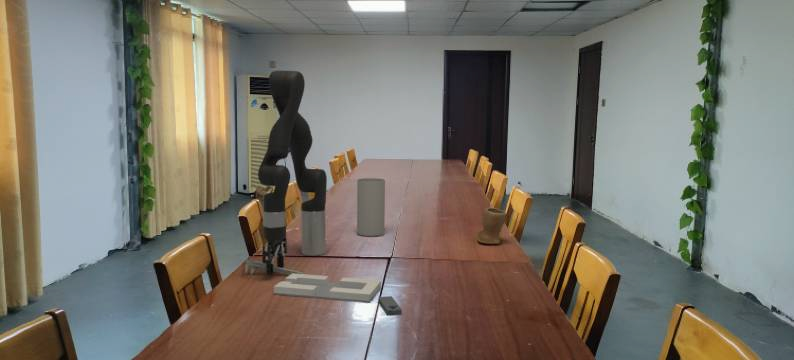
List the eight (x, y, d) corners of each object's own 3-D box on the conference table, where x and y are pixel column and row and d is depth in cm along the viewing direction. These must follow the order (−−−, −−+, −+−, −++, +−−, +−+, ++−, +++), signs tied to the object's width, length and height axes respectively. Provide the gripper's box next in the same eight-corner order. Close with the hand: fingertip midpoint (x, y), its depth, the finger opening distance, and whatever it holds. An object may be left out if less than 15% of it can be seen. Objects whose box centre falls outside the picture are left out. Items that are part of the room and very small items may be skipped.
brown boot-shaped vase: (505, 246, 231) (507, 211, 229) (477, 245, 232) (478, 210, 230) (502, 238, 246) (504, 205, 244) (476, 237, 247) (477, 204, 245)
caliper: (245, 275, 186) (244, 257, 186) (246, 274, 187) (245, 256, 187) (305, 277, 185) (305, 258, 184) (306, 276, 186) (306, 258, 185)
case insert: (292, 280, 180) (292, 273, 180) (381, 288, 174) (381, 280, 174) (274, 294, 166) (274, 286, 166) (369, 302, 160) (369, 294, 160)
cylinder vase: (383, 237, 245) (384, 181, 242) (355, 236, 245) (356, 181, 242) (384, 231, 257) (385, 178, 254) (358, 230, 257) (358, 178, 254)
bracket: (391, 302, 162) (392, 295, 162) (401, 316, 152) (401, 308, 151) (378, 303, 161) (378, 296, 161) (386, 317, 150) (387, 310, 150)
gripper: (273, 219, 192) (273, 264, 194) (254, 227, 178) (255, 276, 180) (293, 220, 190) (293, 266, 192) (276, 229, 176) (276, 278, 178)
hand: (275, 271), depth 186 cm, fingers open, 8 cm apart
